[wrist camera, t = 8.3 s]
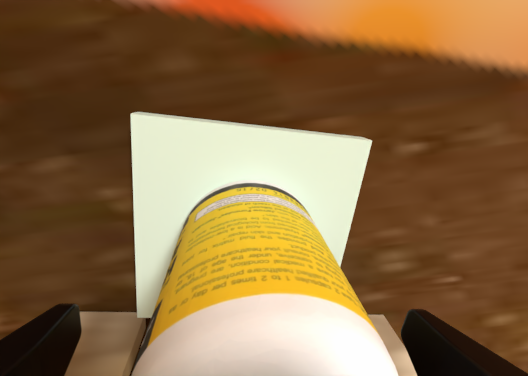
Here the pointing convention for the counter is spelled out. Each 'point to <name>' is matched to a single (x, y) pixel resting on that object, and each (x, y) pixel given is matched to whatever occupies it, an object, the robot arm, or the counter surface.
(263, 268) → the supplement bottle
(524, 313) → the counter surface
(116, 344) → the open frame
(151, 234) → the pad
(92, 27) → the counter surface
